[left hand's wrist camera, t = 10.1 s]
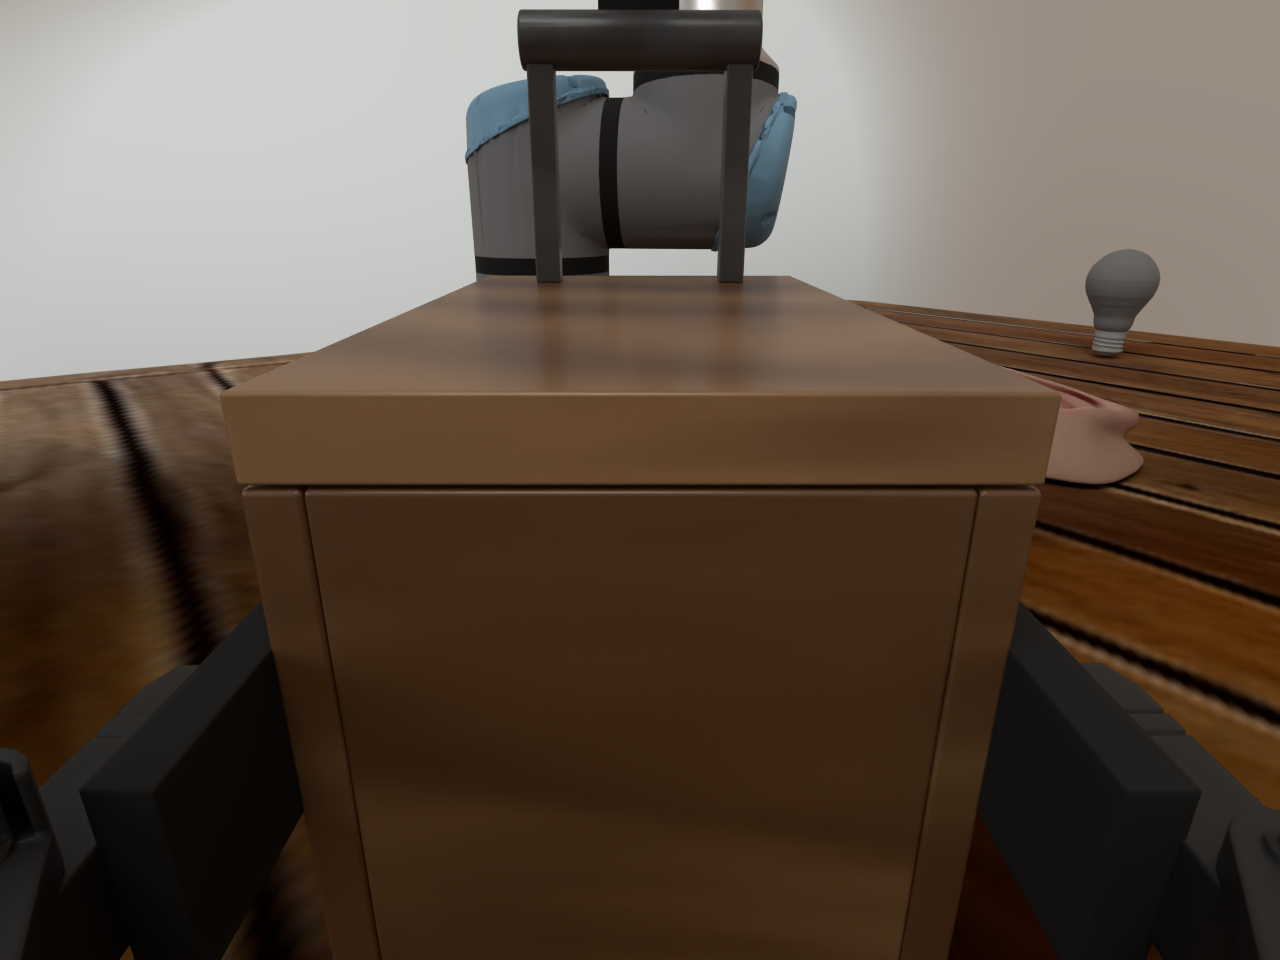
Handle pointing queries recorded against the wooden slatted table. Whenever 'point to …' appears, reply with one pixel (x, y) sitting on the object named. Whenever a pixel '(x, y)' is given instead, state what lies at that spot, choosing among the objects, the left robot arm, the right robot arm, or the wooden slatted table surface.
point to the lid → (640, 348)
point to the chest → (640, 711)
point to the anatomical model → (1090, 438)
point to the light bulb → (1119, 295)
